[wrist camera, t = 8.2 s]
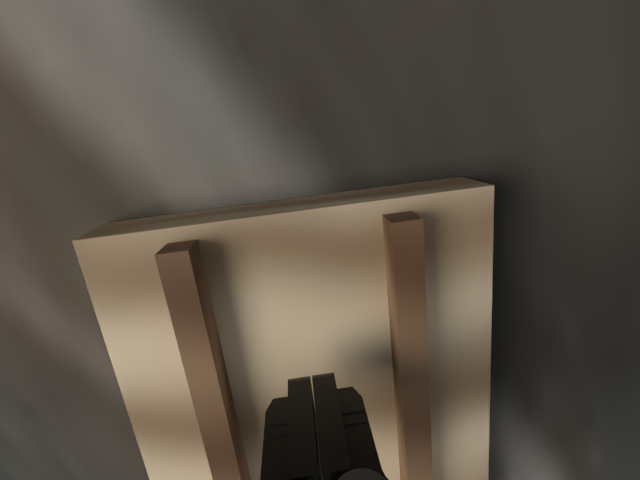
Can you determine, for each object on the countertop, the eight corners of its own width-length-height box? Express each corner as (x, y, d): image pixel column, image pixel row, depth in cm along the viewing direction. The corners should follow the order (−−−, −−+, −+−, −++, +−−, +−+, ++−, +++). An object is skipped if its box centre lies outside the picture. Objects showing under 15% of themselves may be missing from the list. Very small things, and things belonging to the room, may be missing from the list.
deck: (108, 222, 14) (48, 252, 11) (461, 176, 15) (515, 190, 11) (225, 626, 21) (213, 725, 18) (463, 583, 22) (497, 670, 18)
